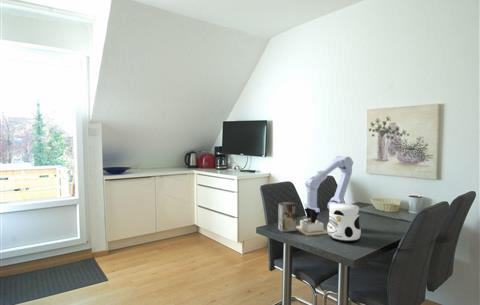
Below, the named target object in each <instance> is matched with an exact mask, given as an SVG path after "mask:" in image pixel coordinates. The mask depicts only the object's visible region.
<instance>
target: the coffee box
mask: <svg viewBox="0 0 480 305" xmlns="http://www.w3.org/2000/svg"><path fill="white" fill-rule="evenodd" d="M277 211H278V212H277V215H278V219H277V221H278V222H277V223H278V225H277V226H278V227H277V228H278V230H279V231H280V232H284V233H287V232H296V231H297V229H296V226H297V203H295V202H292V201H287V202H278V208H277Z"/></svg>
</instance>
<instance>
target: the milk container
mask: <svg viewBox="0 0 480 305" xmlns="http://www.w3.org/2000/svg"><path fill="white" fill-rule="evenodd" d="M328 212H329V214H328V215H329V216H328V222H327V225H328V226H327V225H326V228H327V229H326V230H327V232H328V235H327V236H329V237H330V238H332V239H333V240H336V241H340V242H355V241H358V240H359V239H360V237H361V234H362V232H361V226H360V207H359V206H358V205H356V204H352V203H346V202H345V203H338V202H337V203H334V204H331V205H330V207H329V210H328Z"/></svg>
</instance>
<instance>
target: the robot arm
mask: <svg viewBox="0 0 480 305" xmlns="http://www.w3.org/2000/svg"><path fill="white" fill-rule="evenodd" d="M353 164H354V161H353V159H352V158H351V157H350V156H344V155H343V156H341V155H337V156H335V157H334V158H333V160H332V161H331V162H330V163H329V164H328V165H327V166H326V167H325V168H324V169H323V170H321V169H320V170H318V171H317V173H316V174H314V175H312V176H311V177H310V178H307V180H306V181H305V183H304V184H305V186H306V191H307V194H306V203H304V212H305V214H306V217H307V218H306V219H308V218H309V217H311V222H312V223H315V222H316V220H317V218H318V216H319V214H320V213H321V212H320V208H319V207H318V189H319V187H320V184H321V183H323V182H324V181H325V180H326V179H327V178H328V175H329V174H330V173H332V172H333V171H335V169H337V168H338V169H340V171H341V175H340V177H339V181H338V184H337V187H336V190H335V193H334V196H333V197H331V198H330V200H329V202H327V209H328V211H329V207H330V205H331V204H334V203H346V202H345V200H344V199H345V196H346V192H347V189H348V186H349V182H350V180H351V176H352V173H353ZM327 226H328V224H327V225H326V227H327Z"/></svg>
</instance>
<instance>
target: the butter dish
mask: <svg viewBox="0 0 480 305" xmlns="http://www.w3.org/2000/svg"><path fill="white" fill-rule="evenodd" d="M324 225H325V224H324V223H323V222H321V221H319V220H317V219H316V222H315V223H312V224H311V222H308V219H307V218H306V219H300V220H299V225H296V231H298V230H299V231H298V232H300V233H302V234H303V235H305V236H314V235H315V236H316V235H326V234H328V232H327V229H326V228H324Z"/></svg>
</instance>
